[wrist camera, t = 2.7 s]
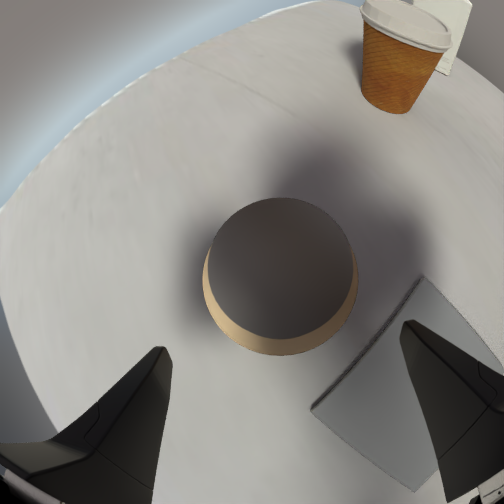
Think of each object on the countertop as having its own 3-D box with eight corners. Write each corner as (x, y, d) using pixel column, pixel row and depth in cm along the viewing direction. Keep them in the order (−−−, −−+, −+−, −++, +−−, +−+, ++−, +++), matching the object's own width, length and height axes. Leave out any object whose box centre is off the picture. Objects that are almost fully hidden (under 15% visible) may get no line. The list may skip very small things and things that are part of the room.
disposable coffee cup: (354, 117, 25) (376, 18, 13) (342, 69, 28) (351, -12, 16) (433, 131, 24) (472, 50, 12) (410, 81, 27) (432, 10, 15)
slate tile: (411, 489, 13) (414, 492, 12) (310, 410, 17) (311, 412, 16) (501, 370, 15) (505, 370, 14) (421, 278, 19) (424, 276, 18)
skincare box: (445, 63, 29) (468, -3, 15) (448, 78, 27) (475, 5, 13) (400, 42, 30) (415, -27, 16) (398, 55, 29) (417, -23, 15)
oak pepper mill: (280, 364, 18) (280, 396, 6) (230, 314, 20) (157, 265, 8) (329, 312, 19) (402, 259, 7) (279, 266, 20) (276, 157, 9)
